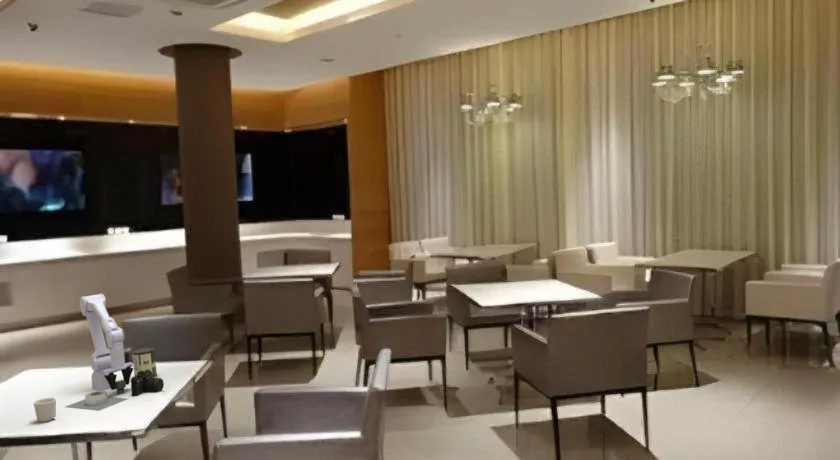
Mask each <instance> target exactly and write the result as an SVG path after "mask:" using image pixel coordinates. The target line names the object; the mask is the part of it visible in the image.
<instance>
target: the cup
mask: <svg viewBox="0 0 840 460" xmlns="http://www.w3.org/2000/svg"><path fill="white" fill-rule="evenodd" d="M56 403H57V399H56V398H55V397H45V398H41V399H37V400H34V402H33V407H34V411H35V416H36V419H37V421H38V422H41V423H46V422H50V421H52V420H54V419H55V418H56V415H57V414H56V413H57V404H56Z"/></svg>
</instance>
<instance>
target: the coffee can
mask: <svg viewBox="0 0 840 460" xmlns="http://www.w3.org/2000/svg"><path fill="white" fill-rule="evenodd" d="M155 350H156V349H155V347H142V348H141V347H140V348H136V349H133V350H131V355H132V364H133V367H132V368H133V377H135V375H137V373H138V372H139V371H146V370H147V369H149V370H151V372H152V375H153V378H158V375H157V373H158V372H157V363H156V351H155Z"/></svg>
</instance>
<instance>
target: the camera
mask: <svg viewBox="0 0 840 460" xmlns="http://www.w3.org/2000/svg"><path fill="white" fill-rule="evenodd" d="M130 386H131V387H130V388H131V396H132V397H138V396H140V395H142V394H145V393H146V394H147V393H157V392H158V393H159V392H162V391H163V389H164V386H165V385H164V379H163V378H161V377H157V378H153V375H152V372H151V370H149V369H147V370H146V371H139V372H138V373H137V375H135V377H134V376H131V377H130Z"/></svg>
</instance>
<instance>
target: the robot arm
mask: <svg viewBox="0 0 840 460" xmlns="http://www.w3.org/2000/svg"><path fill="white" fill-rule="evenodd" d="M106 302H107V299H106V296H105V295H104V294H103V293H99V294H93V295H87V296H83V295H82V296H81V297H80V298H79V307H80V312H81V313H82V316H83V317H86V321H87V325H88V328H89V332H90V336H91V339H92V344H93V346H94V347H93V348H94V352H93V353H92V354H91V356H90V358H89V359H90V366H91V369H92V371H93V372H92V374H91V387H92V388H91V389H93V390H97V391H107V390H112V391H115V390H116V381H117V380H116V379H117V375H118V374H116V372H120V371H121V374H122V378H123V380H125V381H126V386H127V385H130V382H131V377H132V374H133V372H134V367H133V361H132V362H130V361H129V362H126V360H125V359H126V358H125V348H124V342H125V340H126V334H125V331H124V329H123V328H121V327H119V326H118V324H117V323H116V320H115V319H114V318H113V317H111V316H110V314H109V313H108V310H107V308H106V305H107V303H106ZM103 331H104V333H105V337H104V333H103ZM106 342H107V344H106Z"/></svg>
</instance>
